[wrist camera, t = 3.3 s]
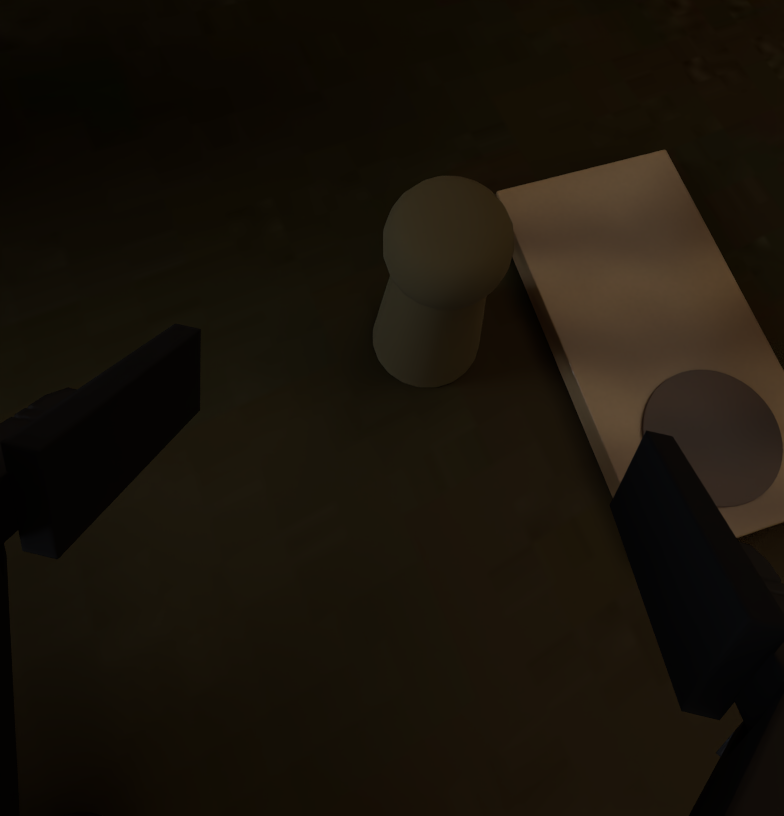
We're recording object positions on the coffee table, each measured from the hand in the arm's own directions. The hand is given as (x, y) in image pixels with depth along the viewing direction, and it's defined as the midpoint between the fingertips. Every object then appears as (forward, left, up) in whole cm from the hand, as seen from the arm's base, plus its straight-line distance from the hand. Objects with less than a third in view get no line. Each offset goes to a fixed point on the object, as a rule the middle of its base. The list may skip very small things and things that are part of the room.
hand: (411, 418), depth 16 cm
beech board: (-3, +16, -13) cm, 21 cm away
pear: (-7, +4, -13) cm, 15 cm away
